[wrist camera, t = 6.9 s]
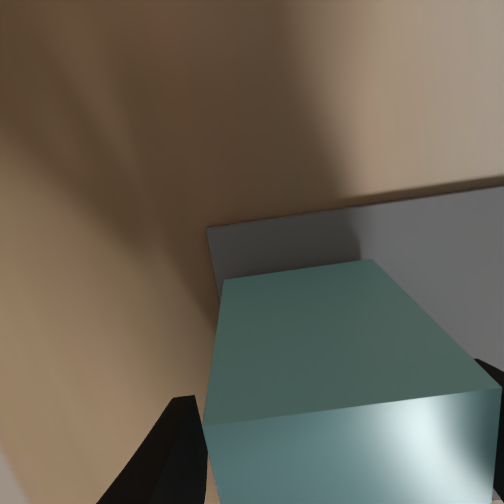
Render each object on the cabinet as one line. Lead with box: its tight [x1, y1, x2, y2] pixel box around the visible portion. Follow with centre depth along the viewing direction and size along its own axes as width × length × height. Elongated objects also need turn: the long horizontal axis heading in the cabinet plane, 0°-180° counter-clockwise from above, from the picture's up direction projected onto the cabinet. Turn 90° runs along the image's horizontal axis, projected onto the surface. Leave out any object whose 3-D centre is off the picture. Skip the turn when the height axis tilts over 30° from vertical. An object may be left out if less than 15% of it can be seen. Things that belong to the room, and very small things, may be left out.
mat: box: [206, 185, 504, 501], centre depth 15 cm, size 15×12×1 cm
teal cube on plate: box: [202, 259, 502, 504], centre depth 10 cm, size 5×5×7 cm
